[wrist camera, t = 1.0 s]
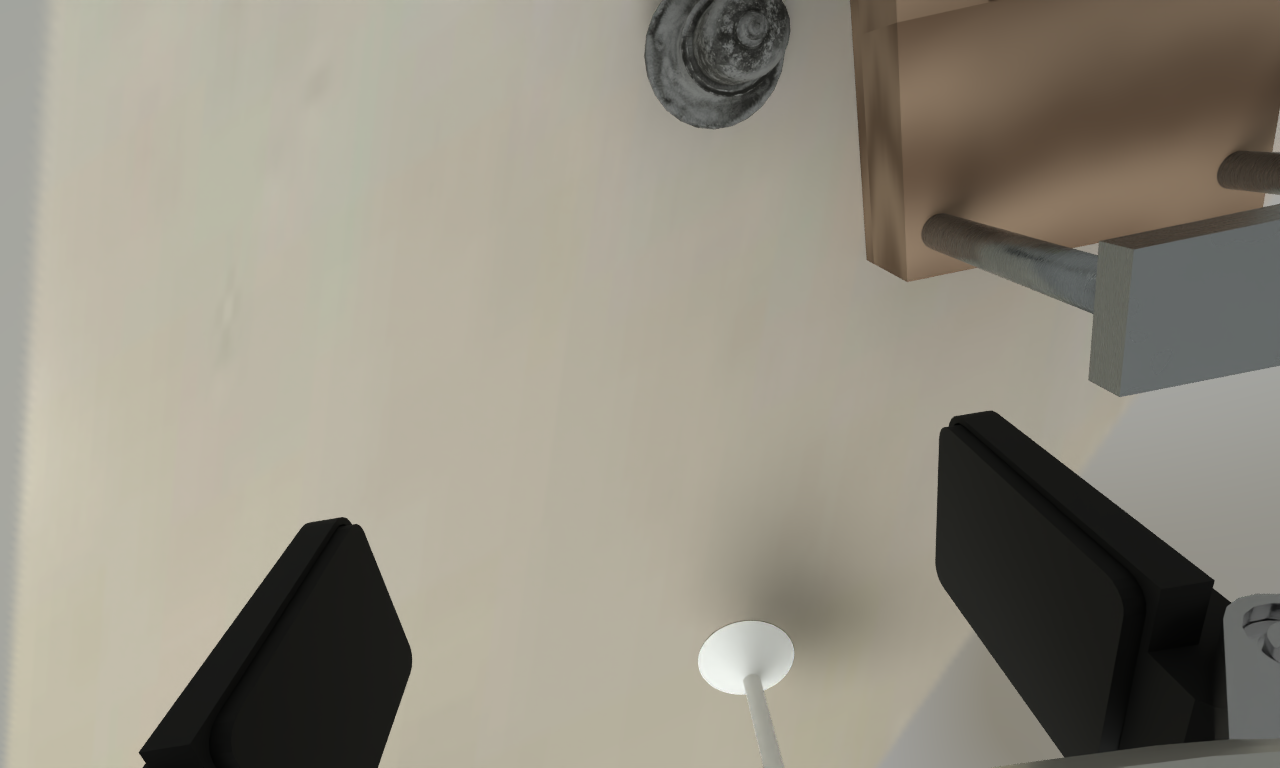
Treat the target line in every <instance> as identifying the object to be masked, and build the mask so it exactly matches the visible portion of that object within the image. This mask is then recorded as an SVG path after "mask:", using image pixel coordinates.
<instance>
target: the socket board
mask: <svg viewBox="0 0 1280 768" xmlns="http://www.w3.org/2000/svg"><path fill="white" fill-rule="evenodd" d="M850 4H851V19H852V35H853V51H854V66H855V82H856V98H857V113H858V129H859V145H860V160H861V176H862V192H863V207H864V223H865V239H866V255H867V260H868V261H870V262H872V263H873V264H875V265H877V266H879V267H881V268H883V269H884V270H886V271H888V272H890V273H892V274H894V275H896V276H897V277H899V278H901V279H903V280H905V281H907V282H909V281H914V280H919V279H924V278H929V277H934V276H939V275H944V274H948V273H953V272H958V271H963V270H968V269H973V268H977V267H975V266H972V265H970V264H967V263H965V262H962V261H960V260H957V259H955V258H952V257H950V256H947V255H945V254H942V253H940V252H937V251H935V250H932V249H930V248H928V247H927V246H925V244H924V243H923V241H922V237H921V232H922V228H923V226H924V224H925V223H926V221H927V220H928V219H929V218H930V217H932V216H934V215H936V214H939V213H946V214H950V215H953V216H957V217H960V218H964V219H968V220H971V221H975V222H979V223H982V224H986V225H989V226H993V227H997V228H1000V229H1004V230H1007V231H1011V232H1015V233H1018V234H1022V235H1025V236H1029V237H1033V238H1036V239H1040V240H1044V241H1047V242H1051V243H1054V244H1058V245H1062V246H1065V247H1069V248H1075V247H1080V246H1085V245H1090V244H1095V243H1099V241H1102V240H1106V239H1111V238H1116V237H1121V236H1126V235H1131V234H1136V233H1141V232H1145V231H1150V230H1155V229H1160V228H1165V227H1170V226H1175V225H1179V224H1184V223H1189V222H1194V221H1199V220H1204V219H1209V218H1214V217H1218V216H1223V215H1228V214H1233V213H1238V212H1243V211H1248V210H1252V209H1257V208H1262V207H1263V203H1264V197H1265V193H1259V192H1250V191H1241V190H1232V189H1225V188H1223V187H1221V186H1220V185H1219V183H1218V181H1217V172H1218V169H1219V166H1220V165H1221V163H1222V162H1223V160H1224V159H1225V158H1226V157H1227V156H1229V155H1230V154H1232V153H1234V152H1237V151H1261V152H1272V150H1273V144H1274V139H1275V133H1276V127H1277V121H1278V115H1279V109H1280V0H850Z"/></svg>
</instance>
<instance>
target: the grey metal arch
mask: <svg viewBox="0 0 1280 768" xmlns="http://www.w3.org/2000/svg"><path fill="white" fill-rule="evenodd" d="M1217 181H1218V183H1219V185H1220V186H1221V187H1223V188H1225V189H1232V190H1241V191H1250V192H1259V193H1268V194H1277V195H1280V152H1261V151H1237V152H1234V153H1232V154H1230V155H1229V156H1227V157H1226V158H1225V159H1224V160H1223V162H1222V163H1221V165H1220V166H1219V169H1218V172H1217ZM921 237H922V241H923V243H924V244H925V246H927V247H928V248H930V249H932V250H935V251H937V252H940V253H942V254H945V255H947V256H950V257H952V258H955V259H957V260H960V261H962V262H965V263H967V264H970V265H972V266H975V267H977V268H980V269H982V270H985V271H987V272H990V273H992V274H995V275H997V276H1000V277H1002V278H1005V279H1007V280H1010V281H1012V282H1015V283H1017V284H1020V285H1022V286H1025V287H1027V288H1030V289H1032V290H1035V291H1037V292H1040V293H1042V294H1045V295H1047V296H1050V297H1052V298H1055V299H1057V300H1060V301H1062V302H1065V303H1067V304H1070V305H1072V306H1075V307H1077V308H1080V309H1082V310H1085V311H1087V312H1090V313H1092V314H1094V315H1093V328H1092V341H1091V354H1090V367H1089V381H1091V382H1093V383H1095V384H1096V385H1098V386H1100V387H1102V388H1104V389H1106V390H1107V391H1109V392H1111V393H1113V394H1115V395H1117V396H1119V397H1122V396H1127V395H1133V394H1138V393H1143V392H1148V391H1153V390H1158V389H1163V388H1168V387H1173V386H1178V385H1183V384H1188V383H1194V382H1199V381H1204V380H1208V379H1214V378H1219V377H1224V376H1229V375H1234V374H1239V373H1244V372H1250V371H1254V370H1260V369H1265V368H1269V367H1274V366H1280V204H1277V205H1272V206H1267V207H1262V208H1257V209H1252V210H1248V211H1243V212H1238V213H1233V214H1228V215H1223V216H1218V217H1214V218H1209V219H1204V220H1199V221H1194V222H1189V223H1184V224H1179V225H1175V226H1170V227H1165V228H1160V229H1155V230H1150V231H1145V232H1141V233H1136V234H1131V235H1126V236H1121V237H1116V238H1111V239H1106V240H1102V241H1099V249H1098V255H1094V254H1090V253H1087V252H1083V251H1080V250H1076V249H1072V248H1069V247H1065V246H1062V245H1058V244H1054V243H1051V242H1047V241H1044V240H1040V239H1036V238H1033V237H1029V236H1025V235H1022V234H1018V233H1015V232H1011V231H1007V230H1004V229H1000V228H997V227H993V226H989V225H986V224H982V223H979V222H975V221H971V220H968V219H964V218H960V217H957V216H953V215H950V214H946V213H939V214H936V215H934V216H932V217H930V218H929V219H928V220H927V221H926V223H925V224H924V226H923V228H922V232H921Z"/></svg>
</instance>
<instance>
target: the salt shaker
mask: <svg viewBox="0 0 1280 768" xmlns="http://www.w3.org/2000/svg"><path fill="white" fill-rule="evenodd" d="M789 35H790V19H789V15H788V12H787V9H786V6H785V5H784V3H783V2H782V0H662V2H661V3H660V5H659V6H658V8H657V10H656V11H655V13H654V14H653V17H652V20H651V23H650V26H649V29H648V32H647V35H646V44H645V55H644V57H645V64H646V71H647V77H648V79H649V82H650V84H651V86H652V89H653V91H654V94H655V95H656V97H657V98H658V99H659V101H660V102H661V104H662V105H663V106H664V108H665V109H666V110H667V111H668V112H670V113H671V114H672V115H674V116H675V117H676V118H677V119H679V120H680V121H682V122H684V123H687V124H689V125H692V126H694V127H697V128H707V129H719V128H724V127H730V126H733V125H735V124H737V123H739V122H741V121H743V120H746V119H748V118H749V117H750V116H751V115H753V114H754V113H755V112H756V111H757V110H758V109H760V108H761V107H762V106H763V105H764V103H765V102H766V100H767V99H768V98H769V96H770V95H771V94H772V92H773V91H774V89H775V86H776V84H777V82H778V79H779V77H780V74H781V72H782V66H783V60H784V54H785V50H786V47H787V45H788V41H789Z"/></svg>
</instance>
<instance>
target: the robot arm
mask: <svg viewBox="0 0 1280 768" xmlns="http://www.w3.org/2000/svg"><path fill="white" fill-rule="evenodd" d="M935 563H936V570H937V574H938V577H939V580H940V582H941V584H942V586H943V587H944V589H945V590H946V592H947V593H948V595H949V596H950V597H951V599H952V600H953V602H954V603H955V604H956V606H957V607H958V609H959V610H960V611H961V613H962V614H963V616H964V617H965V618H966V620H967V621H968V623H969V624H970V625H971V627H972V628H973V630H974V631H975V632H976V634H977V635H978V637H979V638H980V639H981V641H982V642H983V644H984V645H985V646H986V648H987V649H988V651H989V652H990V654H991V655H992V656H993V658H994V659H995V660H996V662H997V663H998V665H999V666H1000V668H1001V669H1002V670H1003V672H1004V673H1005V675H1006V676H1007V677H1008V679H1009V680H1010V682H1011V683H1012V684H1013V686H1014V687H1015V689H1016V690H1017V691H1018V693H1019V694H1020V696H1021V697H1022V698H1023V700H1024V701H1025V702H1026V704H1027V705H1028V707H1029V708H1030V710H1031V711H1032V712H1033V714H1034V715H1035V717H1036V718H1037V719H1038V721H1039V722H1040V724H1041V725H1042V727H1043V728H1044V729H1045V731H1046V732H1047V733H1048V735H1049V736H1050V738H1051V739H1052V741H1053V742H1054V743H1055V745H1056V746H1057V748H1058V749H1059V750H1060V752H1061V753H1062V755H1063V756H1064V757H1065V758H1059V759H1051V760H1043V761H1036V762H1028V763H1020V764H1013V765H1007V766H1000V767H993V768H1280V594H1254V595H1250V596H1245V597H1241V598H1238V599H1236V600H1235V601H1234V602H1232V603H1231V602H1230V601H1228V600H1227V599H1226V598H1224V597H1223V596H1222V595H1221V594H1219V593H1218V592H1217V591H1216V590H1214V589H1213V585H1214V580H1213V579H1212V578H1211V577H1209V576H1208V575H1207V574H1206V573H1204V572H1203V571H1202V570H1200V569H1199V568H1198V567H1196V566H1195V565H1194V564H1193V563H1191V562H1190V561H1188V560H1187V559H1186V558H1185V557H1183V556H1182V555H1181V554H1180V553H1178V552H1177V551H1176V550H1174V549H1173V548H1172V547H1170V546H1169V545H1168V544H1167V543H1165V542H1164V541H1163V540H1161V539H1160V538H1159V537H1157V536H1156V535H1155V534H1153V533H1152V532H1151V531H1150V530H1148V529H1147V528H1146V527H1144V526H1143V525H1142V524H1140V523H1139V522H1138V521H1137V520H1135V519H1134V518H1133V517H1131V516H1130V515H1129V514H1128V513H1126V512H1125V511H1124V510H1122V509H1121V508H1119V507H1118V506H1117V505H1116V504H1114V503H1113V502H1112V501H1111V500H1109V499H1108V498H1107V497H1105V496H1104V495H1103V494H1102V493H1100V492H1099V491H1098V490H1096V489H1095V488H1094V487H1092V486H1091V485H1090V484H1089V483H1087V482H1086V481H1085V480H1083V479H1082V478H1081V477H1079V476H1078V475H1077V474H1076V473H1074V472H1073V471H1072V470H1070V469H1069V468H1068V467H1066V466H1065V465H1064V464H1063V463H1061V462H1060V461H1059V460H1057V459H1056V458H1055V457H1053V456H1052V455H1051V454H1050V453H1048V452H1047V451H1046V450H1044V449H1043V448H1042V447H1041V446H1039V445H1038V444H1037V443H1035V442H1034V441H1033V440H1031V439H1030V438H1029V437H1028V436H1026V435H1025V434H1024V433H1022V432H1021V431H1020V430H1018V429H1017V428H1016V427H1015V426H1013V425H1012V424H1011V423H1009V422H1008V421H1007V420H1005V419H1004V418H1003V417H1002V416H1000V415H999V414H998V413H996V412H994V411H984V412H978V413H972V414H966V415H960V416H954V417H953V418H952V419H951V421H950V423H949V427H944V428H942V429H941V432H940V436H939V463H938V495H937V527H936V559H935ZM411 668H412V653H411V649H410V645H409V643H408V640H407V638H406V635H405V633H404V630H403V628H402V625H401V623H400V620H399V618H398V615H397V613H396V610H395V608H394V606H393V603H392V601H391V598H390V596H389V593H388V591H387V588H386V586H385V583H384V581H383V578H382V576H381V573H380V571H379V568H378V566H377V563H376V561H375V558H374V556H373V553H372V551H371V548H370V546H369V543H368V541H367V538H366V536H365V533H364V531H363V529H362V528H361V527H360V526H359V525H357V524H353V525H352V524H351V522H350V521H349V520H348V519H347V518H344V517H341V518H335V519H329V520H322V521H316V522H310V523H307V524H305V525H304V526H303V527H302V528H301V529H300V531H299V532H298V533H297V535H296V536H295V538H294V539H293V540H292V542H291V543H290V544H289V546H288V547H287V549H286V550H285V551H284V553H283V554H282V556H281V557H280V558H279V560H278V561H277V562H276V564H275V565H274V567H273V568H272V569H271V571H270V572H269V573H268V575H267V576H266V578H265V579H264V580H263V582H262V583H261V584H260V586H259V587H258V589H257V590H256V591H255V593H254V594H253V596H252V597H251V598H250V600H249V601H248V602H247V604H246V605H245V607H244V608H243V609H242V611H241V612H240V613H239V615H238V616H237V618H236V619H235V620H234V622H233V623H232V624H231V626H230V627H229V629H228V630H227V631H226V633H225V634H224V636H223V637H222V638H221V640H220V641H219V642H218V644H217V645H216V647H215V648H214V649H213V651H212V652H211V653H210V655H209V656H208V658H207V659H206V660H205V662H204V663H203V665H202V666H201V667H200V669H199V670H198V671H197V673H196V674H195V676H194V677H193V678H192V680H191V681H190V682H189V684H188V685H187V687H186V688H185V689H184V691H183V692H182V693H181V695H180V696H179V698H178V699H177V700H176V702H175V703H174V705H173V706H172V707H171V709H170V710H169V711H168V713H167V714H166V716H165V717H164V718H163V720H162V721H161V722H160V724H159V725H158V727H157V728H156V729H155V731H154V732H153V733H152V735H151V736H150V738H149V739H148V740H147V742H146V743H145V745H144V746H143V747H142V749H141V750H140V751H139V754H140V755H141V757H142V758H143V760H144V761H145V762H146V764H145V765H144V767H143V768H378V765H379V763H380V760H381V757H382V754H383V751H384V748H385V745H386V742H387V739H388V736H389V734H390V731H391V728H392V725H393V722H394V719H395V716H396V713H397V710H398V707H399V704H400V702H401V699H402V696H403V693H404V690H405V687H406V684H407V681H408V678H409V675H410V672H411Z"/></svg>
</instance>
